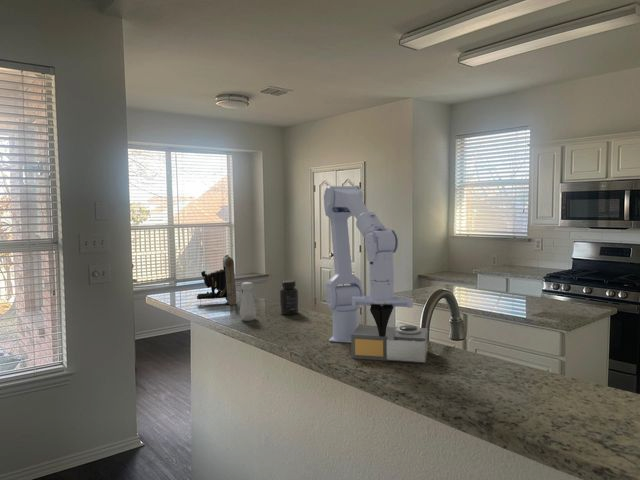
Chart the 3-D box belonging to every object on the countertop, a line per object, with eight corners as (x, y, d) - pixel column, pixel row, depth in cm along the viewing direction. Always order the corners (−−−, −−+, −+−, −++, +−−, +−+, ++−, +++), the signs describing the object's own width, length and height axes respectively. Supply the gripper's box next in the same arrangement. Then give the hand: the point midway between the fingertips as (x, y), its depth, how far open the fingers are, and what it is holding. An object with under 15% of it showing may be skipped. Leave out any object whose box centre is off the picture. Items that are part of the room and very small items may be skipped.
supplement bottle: (278, 312, 172) (277, 280, 171) (295, 310, 175) (294, 279, 174) (283, 316, 166) (282, 283, 165) (301, 314, 168) (300, 281, 167)
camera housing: (359, 347, 125) (359, 321, 125) (427, 351, 120) (427, 324, 120) (351, 358, 115) (350, 330, 115) (425, 363, 110) (424, 334, 110)
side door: (387, 358, 113) (386, 326, 112) (425, 360, 110) (424, 328, 110) (386, 359, 112) (386, 327, 111) (424, 362, 109) (424, 329, 109)
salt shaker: (258, 320, 160) (257, 283, 159) (241, 322, 158) (240, 284, 157) (254, 316, 165) (253, 280, 165) (238, 318, 163) (237, 282, 163)
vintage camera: (197, 304, 193) (193, 257, 192) (234, 300, 198) (231, 254, 196) (198, 309, 184) (194, 260, 182) (237, 305, 189) (233, 256, 187)
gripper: (348, 281, 110) (349, 338, 110) (410, 283, 106) (411, 341, 106) (354, 277, 116) (355, 330, 117) (413, 278, 112) (413, 333, 113)
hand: (382, 335), depth 112 cm, fingers closed
